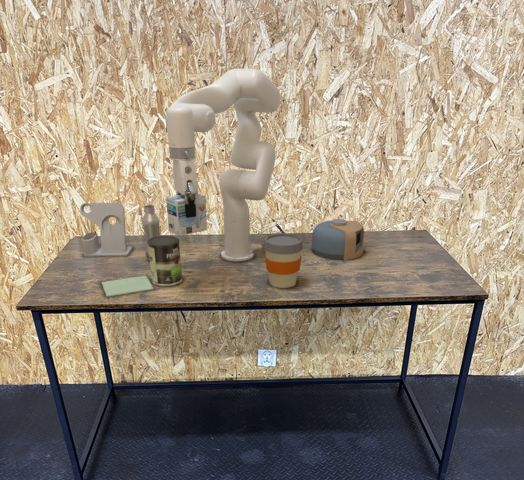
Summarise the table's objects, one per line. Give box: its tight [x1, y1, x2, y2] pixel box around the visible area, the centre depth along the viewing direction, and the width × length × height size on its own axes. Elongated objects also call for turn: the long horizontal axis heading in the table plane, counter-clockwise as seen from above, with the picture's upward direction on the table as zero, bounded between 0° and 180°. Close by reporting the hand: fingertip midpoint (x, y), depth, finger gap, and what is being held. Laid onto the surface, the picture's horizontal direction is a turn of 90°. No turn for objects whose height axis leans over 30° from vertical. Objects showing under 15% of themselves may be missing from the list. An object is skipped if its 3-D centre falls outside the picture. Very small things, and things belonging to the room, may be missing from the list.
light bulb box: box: [165, 193, 208, 237], centre depth 153 cm, size 11×7×11 cm, turn 131°
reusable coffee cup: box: [263, 233, 304, 289], centre depth 164 cm, size 13×13×15 cm
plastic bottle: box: [141, 204, 161, 262], centre depth 181 cm, size 6×7×20 cm
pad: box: [101, 275, 155, 298], centre depth 164 cm, size 15×12×1 cm
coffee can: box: [147, 235, 183, 287], centre depth 165 cm, size 10×10×14 cm
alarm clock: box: [311, 218, 365, 261], centre depth 191 cm, size 19×20×12 cm
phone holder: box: [79, 202, 133, 258], centre depth 189 cm, size 17×10×18 cm, turn 91°
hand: (186, 213), depth 153 cm, fingers closed on light bulb box, 8 cm apart
